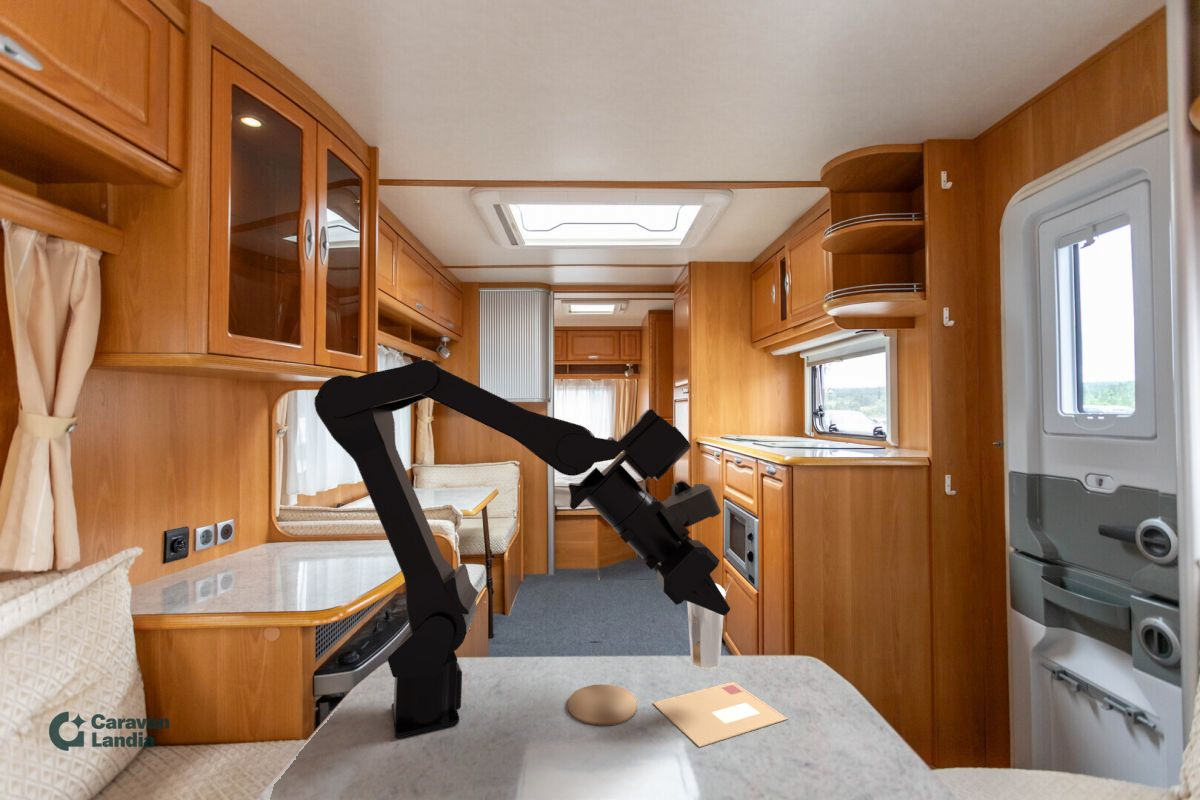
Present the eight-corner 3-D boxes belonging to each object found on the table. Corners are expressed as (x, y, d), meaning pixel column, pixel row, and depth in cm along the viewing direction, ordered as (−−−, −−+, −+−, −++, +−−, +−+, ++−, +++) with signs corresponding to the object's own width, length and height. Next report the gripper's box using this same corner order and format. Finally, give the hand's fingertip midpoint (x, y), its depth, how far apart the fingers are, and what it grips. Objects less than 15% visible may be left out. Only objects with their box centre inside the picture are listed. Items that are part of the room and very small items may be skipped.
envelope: (699, 747, 51) (699, 746, 51) (652, 703, 59) (652, 702, 59) (787, 719, 56) (787, 718, 56) (733, 682, 64) (733, 681, 64)
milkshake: (733, 674, 56) (734, 582, 56) (684, 668, 57) (685, 578, 57) (731, 656, 60) (732, 571, 61) (686, 651, 61) (687, 567, 62)
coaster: (585, 732, 53) (585, 728, 53) (558, 696, 60) (558, 692, 60) (650, 715, 56) (650, 711, 56) (617, 682, 64) (617, 679, 64)
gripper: (699, 466, 50) (806, 579, 50) (662, 456, 69) (740, 539, 69) (619, 546, 49) (729, 661, 49) (603, 514, 68) (682, 597, 68)
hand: (720, 605), depth 59 cm, fingers closed on milkshake, 4 cm apart
